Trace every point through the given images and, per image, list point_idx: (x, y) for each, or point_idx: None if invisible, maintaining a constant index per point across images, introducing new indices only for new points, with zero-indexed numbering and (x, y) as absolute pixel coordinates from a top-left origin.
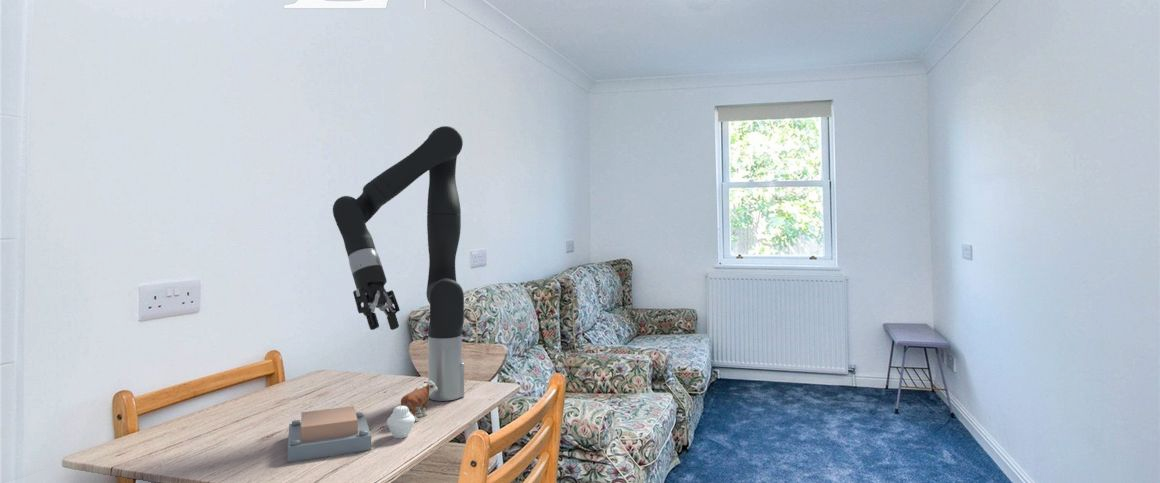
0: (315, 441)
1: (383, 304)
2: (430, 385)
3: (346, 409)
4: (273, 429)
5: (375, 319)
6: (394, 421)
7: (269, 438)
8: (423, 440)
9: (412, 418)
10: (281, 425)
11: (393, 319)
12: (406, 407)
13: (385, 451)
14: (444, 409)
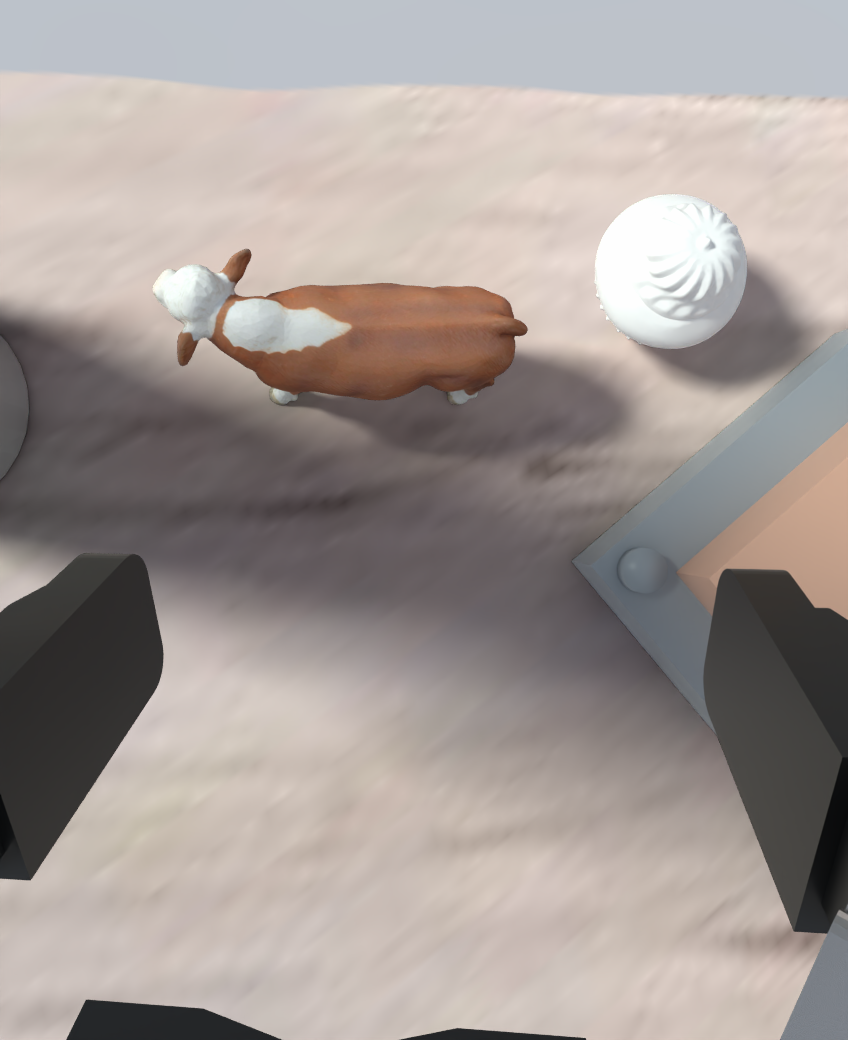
0: None
1: (205, 1015)
2: (232, 279)
3: None
4: (722, 993)
5: (838, 647)
6: (746, 265)
7: None
8: (665, 156)
9: (669, 196)
10: (660, 1003)
11: (62, 677)
12: (688, 214)
13: (834, 259)
14: None
